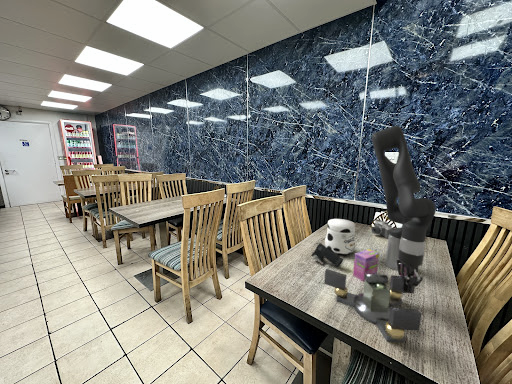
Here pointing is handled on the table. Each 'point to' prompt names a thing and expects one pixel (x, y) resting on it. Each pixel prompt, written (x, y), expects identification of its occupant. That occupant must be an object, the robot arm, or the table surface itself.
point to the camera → (381, 228)
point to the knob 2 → (402, 322)
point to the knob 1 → (398, 286)
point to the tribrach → (374, 302)
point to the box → (365, 263)
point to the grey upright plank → (336, 282)
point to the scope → (326, 255)
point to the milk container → (340, 236)
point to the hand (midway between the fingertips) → (405, 290)
